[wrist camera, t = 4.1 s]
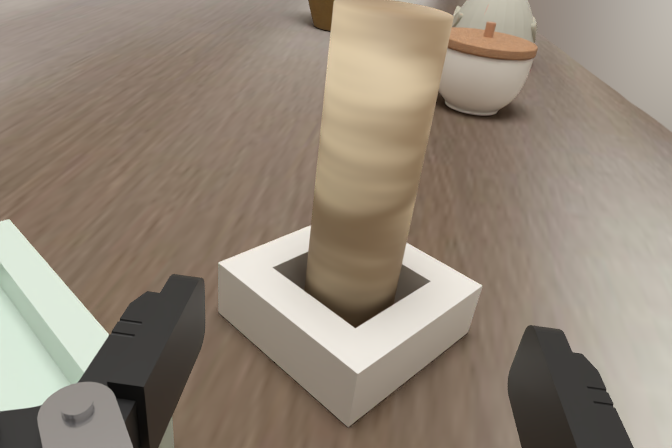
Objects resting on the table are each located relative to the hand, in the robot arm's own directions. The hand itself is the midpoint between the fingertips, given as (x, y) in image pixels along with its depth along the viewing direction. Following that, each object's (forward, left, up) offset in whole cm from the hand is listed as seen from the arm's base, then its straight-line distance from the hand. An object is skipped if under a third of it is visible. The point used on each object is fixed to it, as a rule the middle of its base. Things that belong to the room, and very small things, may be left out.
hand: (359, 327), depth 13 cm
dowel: (+8, +7, -9) cm, 14 cm away
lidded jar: (+47, +24, -9) cm, 54 cm away
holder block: (+8, +7, -9) cm, 14 cm away
